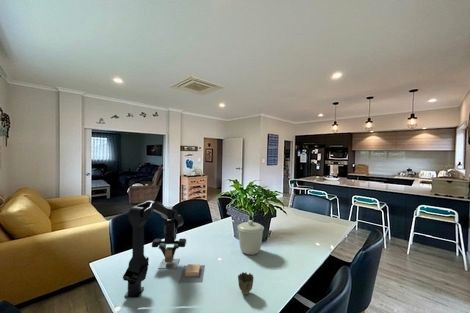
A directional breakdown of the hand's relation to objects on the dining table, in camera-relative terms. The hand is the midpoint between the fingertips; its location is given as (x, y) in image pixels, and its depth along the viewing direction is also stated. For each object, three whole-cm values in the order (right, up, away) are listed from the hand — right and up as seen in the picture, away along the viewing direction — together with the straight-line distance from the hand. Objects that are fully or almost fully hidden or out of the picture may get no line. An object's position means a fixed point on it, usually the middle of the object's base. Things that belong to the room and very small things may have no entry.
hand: (169, 257), depth 121 cm
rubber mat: (+16, -5, -9) cm, 19 cm away
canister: (+49, -6, +19) cm, 53 cm away
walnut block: (0, -2, 0) cm, 2 cm away
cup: (+43, -6, -23) cm, 50 cm away
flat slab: (+16, -3, -12) cm, 20 cm away
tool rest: (0, -5, 0) cm, 4 cm away
